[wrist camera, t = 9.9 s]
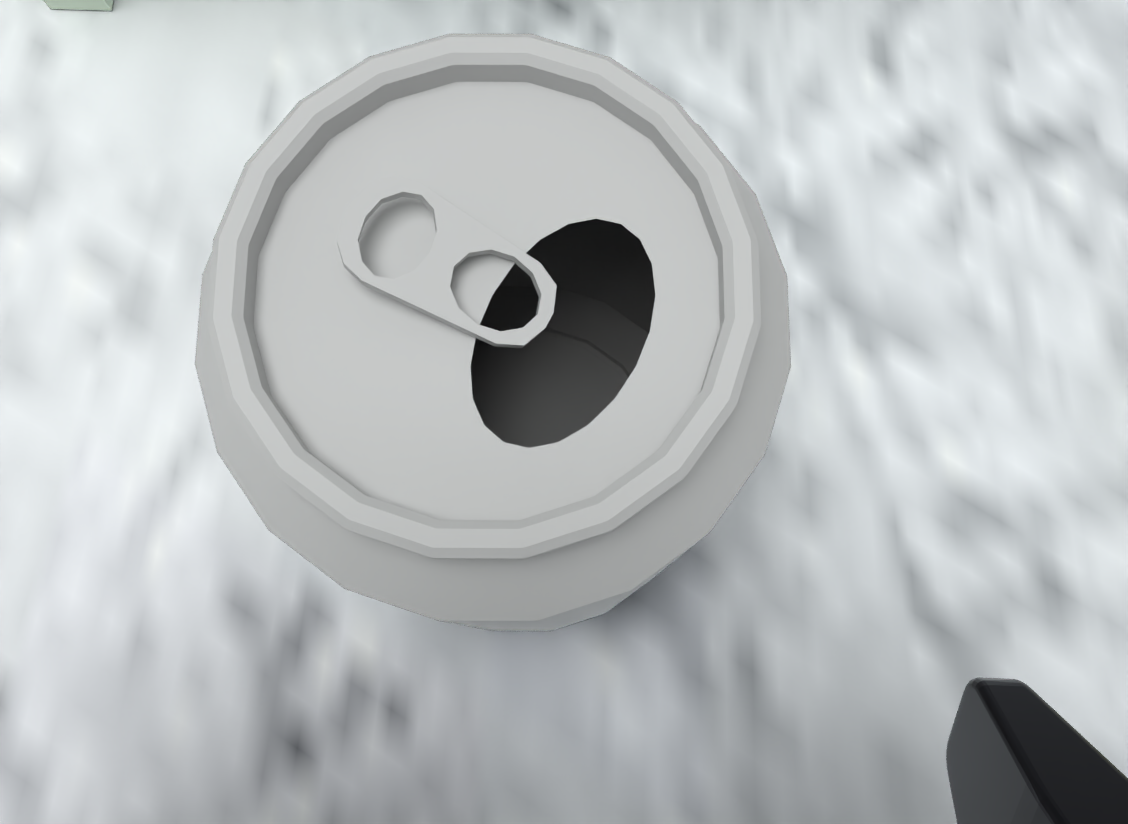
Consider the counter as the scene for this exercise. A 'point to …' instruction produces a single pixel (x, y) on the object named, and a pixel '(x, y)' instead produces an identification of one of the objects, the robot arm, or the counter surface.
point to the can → (492, 331)
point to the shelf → (80, 4)
